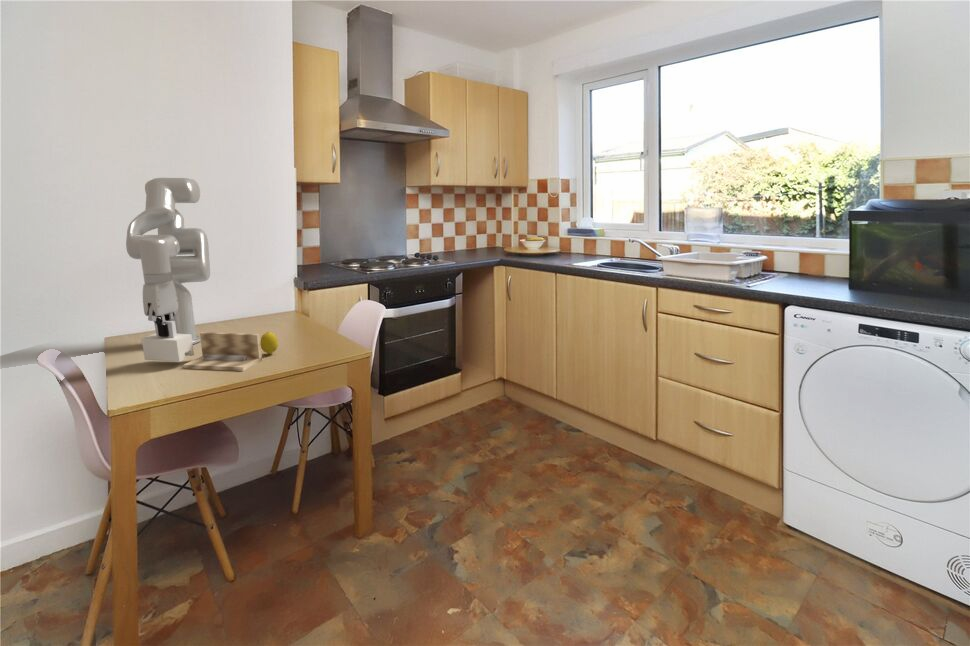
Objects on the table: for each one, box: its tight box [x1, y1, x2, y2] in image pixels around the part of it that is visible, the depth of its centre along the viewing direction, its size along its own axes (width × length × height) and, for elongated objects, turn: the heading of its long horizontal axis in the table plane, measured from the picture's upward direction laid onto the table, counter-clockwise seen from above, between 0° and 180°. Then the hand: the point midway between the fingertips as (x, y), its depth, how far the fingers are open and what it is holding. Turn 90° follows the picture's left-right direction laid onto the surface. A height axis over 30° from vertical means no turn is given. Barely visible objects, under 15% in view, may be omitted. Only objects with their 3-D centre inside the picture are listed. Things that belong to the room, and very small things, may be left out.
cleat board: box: [182, 331, 263, 372], centre depth 174 cm, size 20×11×9 cm, turn 82°
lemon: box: [260, 331, 279, 355], centre depth 185 cm, size 6×6×8 cm
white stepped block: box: [141, 321, 195, 363], centre depth 174 cm, size 12×7×12 cm, turn 82°
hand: (166, 335), depth 173 cm, fingers closed on white stepped block, 1 cm apart
